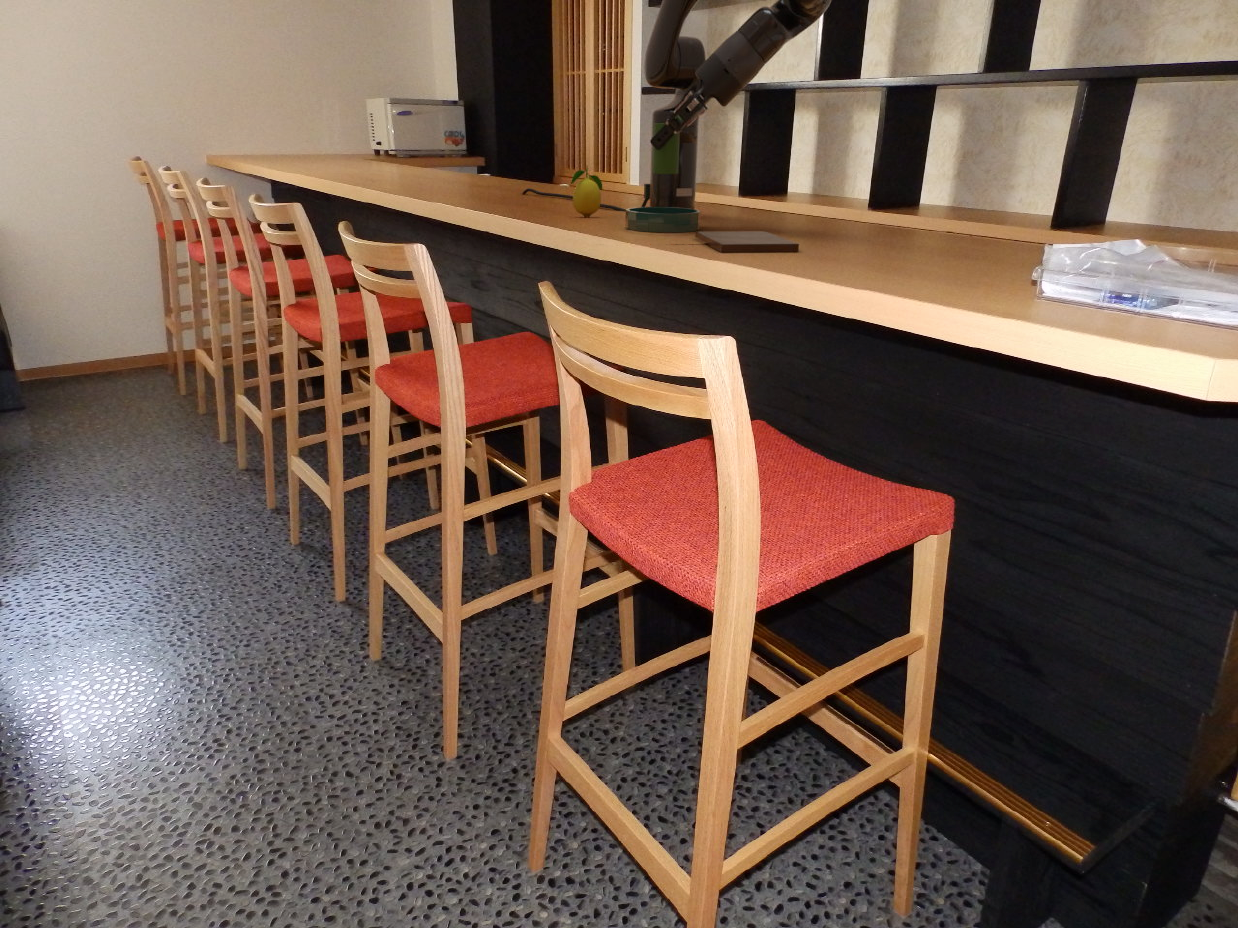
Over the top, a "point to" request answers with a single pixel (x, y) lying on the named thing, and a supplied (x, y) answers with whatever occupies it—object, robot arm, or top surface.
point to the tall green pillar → (666, 154)
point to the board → (747, 241)
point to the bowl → (663, 219)
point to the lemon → (587, 193)
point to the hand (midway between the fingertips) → (655, 145)
